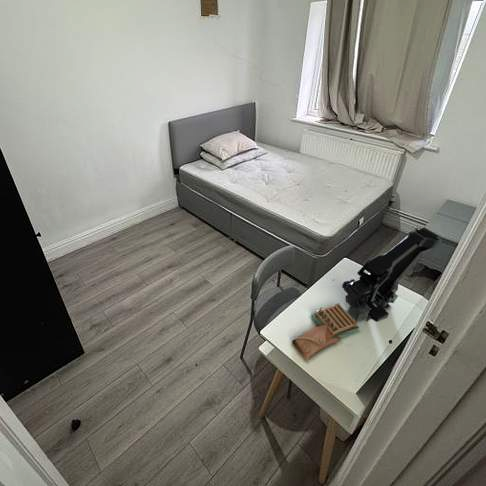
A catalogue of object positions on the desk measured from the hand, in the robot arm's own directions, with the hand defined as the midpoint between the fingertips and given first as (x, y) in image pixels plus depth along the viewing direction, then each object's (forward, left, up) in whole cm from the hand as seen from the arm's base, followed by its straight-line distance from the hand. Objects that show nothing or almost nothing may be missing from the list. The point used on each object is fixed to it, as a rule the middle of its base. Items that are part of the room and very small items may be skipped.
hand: (358, 312), depth 119 cm
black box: (0, 0, -2) cm, 2 cm away
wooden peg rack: (+12, 0, -2) cm, 12 cm away
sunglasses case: (+24, +4, -2) cm, 24 cm away
